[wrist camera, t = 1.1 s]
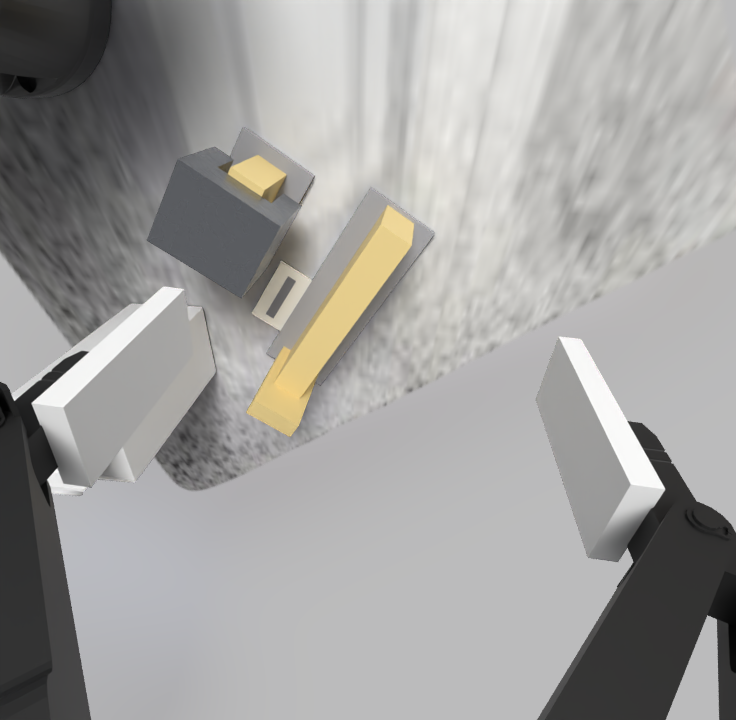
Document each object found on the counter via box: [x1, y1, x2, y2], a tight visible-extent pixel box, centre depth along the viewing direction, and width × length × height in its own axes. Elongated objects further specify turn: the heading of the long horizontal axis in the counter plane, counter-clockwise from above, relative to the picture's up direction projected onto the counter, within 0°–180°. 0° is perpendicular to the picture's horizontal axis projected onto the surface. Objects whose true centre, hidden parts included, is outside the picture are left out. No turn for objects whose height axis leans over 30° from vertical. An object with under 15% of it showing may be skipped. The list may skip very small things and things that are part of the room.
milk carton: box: [11, 304, 216, 496], centre depth 37 cm, size 7×7×19 cm
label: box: [251, 261, 312, 331], centre depth 41 cm, size 3×6×1 cm, turn 147°
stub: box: [228, 127, 314, 203], centre depth 34 cm, size 6×9×6 cm, turn 147°
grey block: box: [147, 147, 302, 298], centre depth 32 cm, size 7×6×6 cm
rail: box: [246, 187, 435, 437], centre depth 37 cm, size 6×18×9 cm, turn 147°
